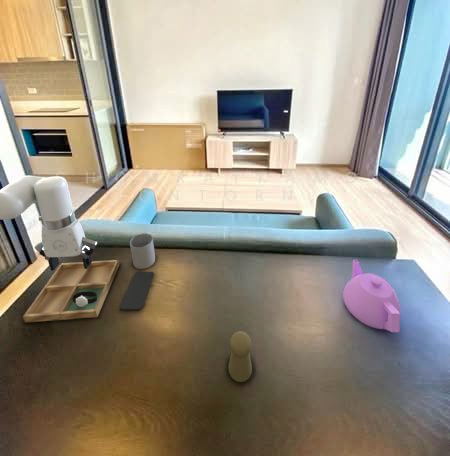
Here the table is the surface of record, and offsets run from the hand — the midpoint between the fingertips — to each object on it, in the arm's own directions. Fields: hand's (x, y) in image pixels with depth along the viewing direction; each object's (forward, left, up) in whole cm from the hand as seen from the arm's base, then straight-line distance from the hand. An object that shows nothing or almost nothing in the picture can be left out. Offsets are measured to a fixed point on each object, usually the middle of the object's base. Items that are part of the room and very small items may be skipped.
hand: (71, 266), depth 77 cm
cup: (+16, +17, -15) cm, 28 cm away
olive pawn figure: (+49, -23, -15) cm, 57 cm away
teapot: (+92, -10, -15) cm, 94 cm away
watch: (+1, 0, -15) cm, 15 cm away
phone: (+17, +3, -15) cm, 23 cm away
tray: (-4, +5, -15) cm, 16 cm away
